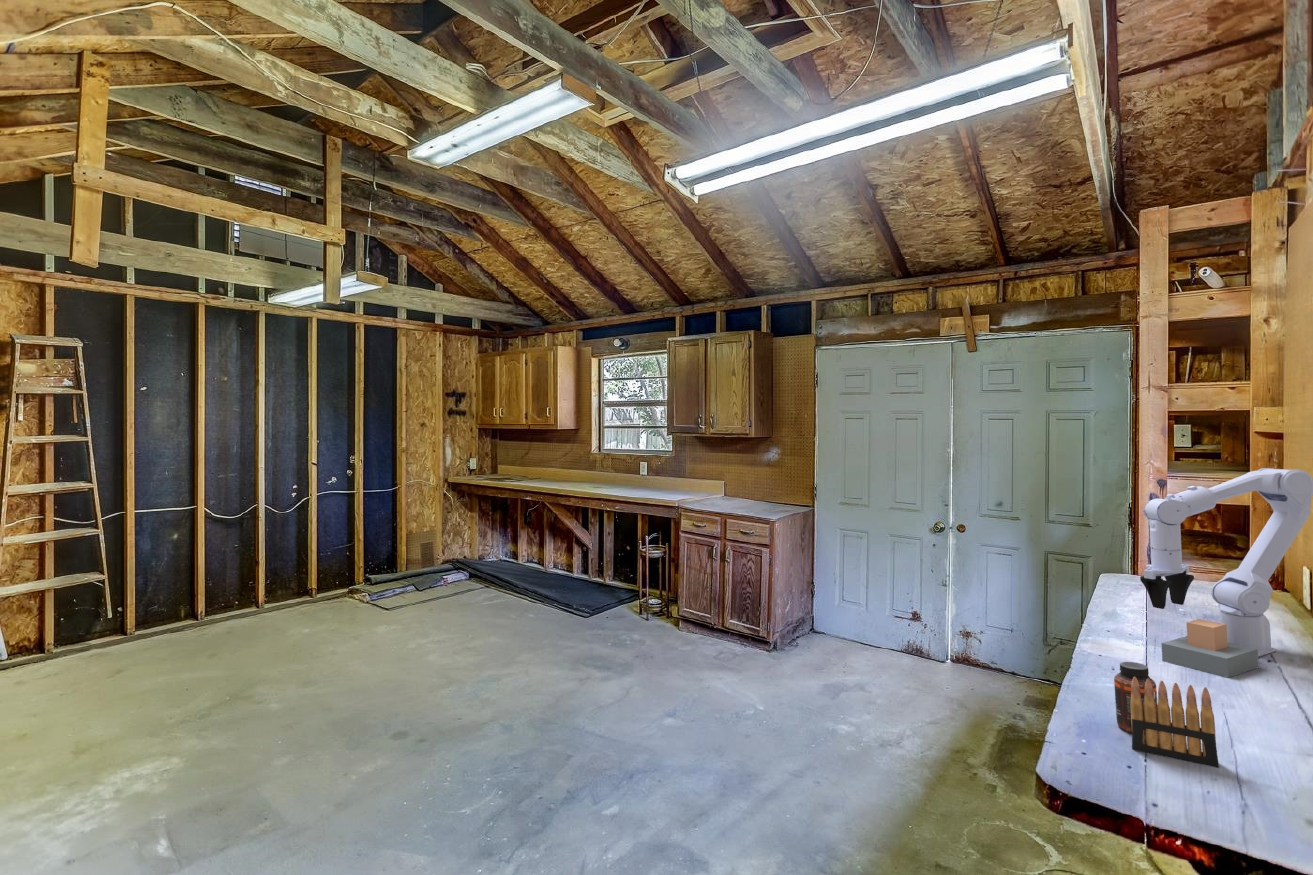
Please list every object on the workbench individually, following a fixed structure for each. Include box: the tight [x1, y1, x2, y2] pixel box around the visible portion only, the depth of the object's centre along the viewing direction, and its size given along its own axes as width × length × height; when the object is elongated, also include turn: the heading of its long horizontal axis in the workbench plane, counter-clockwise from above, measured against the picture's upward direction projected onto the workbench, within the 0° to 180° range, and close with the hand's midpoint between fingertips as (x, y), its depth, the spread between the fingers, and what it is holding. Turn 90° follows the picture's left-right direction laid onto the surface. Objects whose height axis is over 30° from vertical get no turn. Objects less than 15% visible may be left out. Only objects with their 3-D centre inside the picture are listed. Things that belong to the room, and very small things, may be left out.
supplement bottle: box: [1113, 661, 1159, 734], centre depth 108 cm, size 6×6×11 cm
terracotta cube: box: [1186, 618, 1228, 651], centre depth 137 cm, size 5×5×5 cm
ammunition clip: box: [1130, 676, 1220, 769], centre depth 99 cm, size 11×2×12 cm, turn 52°
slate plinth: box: [1161, 635, 1260, 678], centre depth 136 cm, size 12×12×4 cm
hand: (1168, 605), depth 147 cm, fingers open, 7 cm apart
